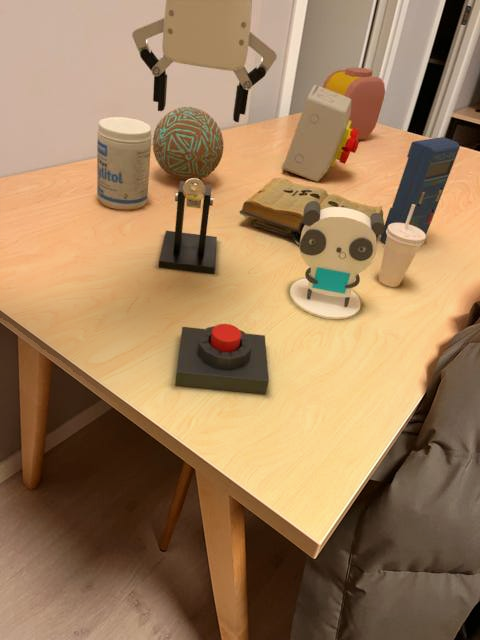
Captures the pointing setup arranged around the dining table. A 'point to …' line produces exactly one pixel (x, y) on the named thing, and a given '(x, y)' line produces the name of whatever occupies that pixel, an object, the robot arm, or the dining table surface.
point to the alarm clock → (359, 96)
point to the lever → (194, 192)
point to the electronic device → (422, 182)
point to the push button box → (222, 363)
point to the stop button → (225, 338)
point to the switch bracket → (189, 241)
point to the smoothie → (399, 250)
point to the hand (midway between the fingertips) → (199, 113)
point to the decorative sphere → (188, 144)
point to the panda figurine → (334, 259)
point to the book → (293, 206)
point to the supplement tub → (123, 162)
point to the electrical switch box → (321, 135)
